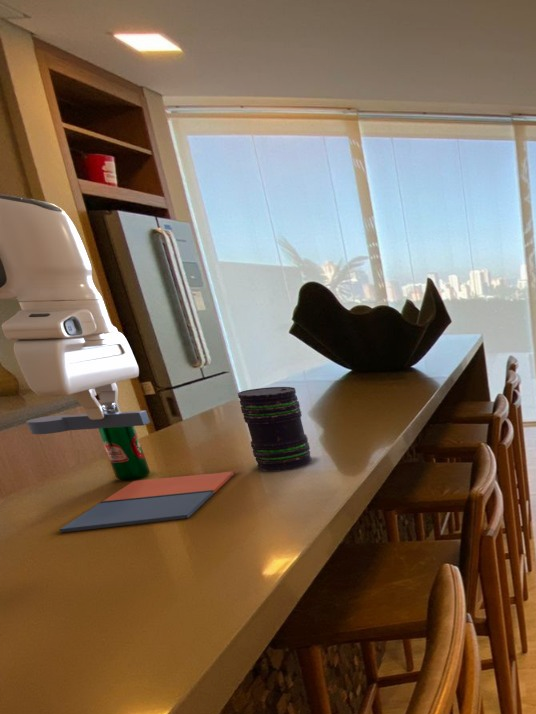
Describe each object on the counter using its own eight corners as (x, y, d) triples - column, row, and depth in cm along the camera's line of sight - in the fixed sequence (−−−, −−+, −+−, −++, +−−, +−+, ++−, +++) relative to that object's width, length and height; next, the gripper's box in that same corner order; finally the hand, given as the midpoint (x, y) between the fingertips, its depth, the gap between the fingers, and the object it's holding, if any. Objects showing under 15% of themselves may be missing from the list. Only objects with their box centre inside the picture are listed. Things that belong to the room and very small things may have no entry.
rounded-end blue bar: (21, 435, 83) (16, 422, 82) (46, 427, 88) (40, 415, 87) (138, 427, 86) (133, 414, 86) (155, 420, 91) (151, 408, 90)
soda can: (110, 480, 107) (86, 418, 103) (137, 472, 112) (116, 412, 107) (130, 482, 106) (107, 419, 101) (157, 474, 110) (136, 413, 106)
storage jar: (261, 474, 109) (239, 397, 104) (253, 463, 116) (233, 390, 111) (317, 464, 115) (300, 391, 109) (307, 454, 122) (290, 385, 116)
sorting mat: (60, 532, 84) (58, 528, 84) (134, 484, 105) (133, 480, 105) (188, 518, 89) (186, 514, 88) (234, 474, 110) (233, 470, 109)
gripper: (87, 319, 90) (119, 405, 96) (-10, 327, 72) (35, 432, 77) (134, 318, 92) (162, 402, 97) (50, 325, 74) (90, 429, 79)
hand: (105, 416), depth 87 cm, fingers closed on rounded-end blue bar, 2 cm apart
